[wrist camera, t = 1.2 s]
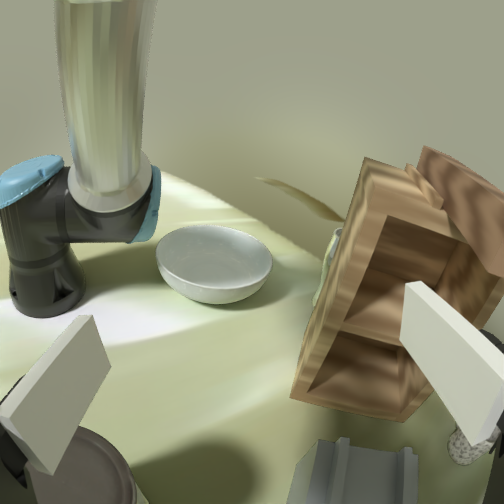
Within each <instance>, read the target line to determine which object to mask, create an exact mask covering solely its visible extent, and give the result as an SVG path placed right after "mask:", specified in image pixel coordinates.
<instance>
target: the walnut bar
mask: <svg viewBox="0 0 504 504" xmlns="http://www.w3.org/2000/svg"><path fill="white" fill-rule="evenodd" d="M417 171H418V172H419V173H420V174H421V175H422V176H423V177H424V178H425V179H426V180H427V181H428V182H429V183H430V185H431V186H432V187H433V188H434V189H435V190H436V191H437V192H438V194H439V195H440V196H441V197H442V198H443V199H444V201H443V204H442V208H443V209H444V210H445V212H446V213H447V214H448V216H449V217H450V218H451V220H452V221H453V222H454V224H455V225H456V226H457V228H458V229H459V230H460V232H461V233H462V235H463V236H464V237H465V239H466V240H467V242H468V243H469V245H470V246H471V248H472V249H473V250H474V252H475V253H476V255H477V256H478V258H479V260H480V261H481V263H482V264H483V266H484V267H485V269H486V270H487V272H489V273H491V274H494V275H497V276H499V277H502V278H504V193H503V192H502V191H500V190H499V189H498V188H496V187H495V186H494V185H492V184H491V183H489V182H488V181H487V180H485V179H484V178H483V177H481V176H480V175H478V174H477V173H475V172H474V171H472V170H471V169H469V168H468V167H466V166H465V165H463V164H462V163H460V162H459V161H457V160H455V159H454V158H452V157H451V156H449V155H446V154H444V153H442V152H439V151H437V150H434V149H432V148H430V147H427V146H423V150H422V153H421V156H420V159H419V162H418V165H417Z"/></svg>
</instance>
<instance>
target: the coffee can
mask: <svg viewBox="0 0 504 504" xmlns="http://www.w3.org/2000/svg"><path fill="white" fill-rule="evenodd" d="M25 466H26V467H27V468H28V470H29V472H30V476H31V480H32V484H33V488H34V491H35V495H36V498H37V502H38V504H149V502H148V501H147V499H146V498H145V496H144V495H143V494H142V492H141V490H140V489H139V487H138V485H137V484H136V482H135V480H134V477H133V475H132V472H131V470H130V468H129V466H128V464H127V462H126V460H125V459H124V457H123V456H122V455H121V454H120V452H119V451H118V450H117V449H116V448H115V447H114V446H113V445H112V444H111V443H110V442H109V441H107V440H106V439H105V438H103V437H102V436H100V435H99V434H97V433H95V432H93V431H91V430H89V429H87V428H84V427H81V426H78V427H77V429H76V431H75V433H74V435H73V437H72V439H71V441H70V443H69V444H68V446H67V448H66V450H65V452H64V454H63V456H62V458H61V460H60V462H59V464H58V466H57V468H56V470H55V472H54V474H53V476H52V475H49V474H46V473H43V472H40V471H37V470H36V469H35V468H34V466H33V465H32V464H31V463H30V462H29V460H28V461H27V463H26V464H25Z"/></svg>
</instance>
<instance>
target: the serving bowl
mask: <svg viewBox="0 0 504 504" xmlns="http://www.w3.org/2000/svg"><path fill="white" fill-rule="evenodd" d="M156 260H157V265H158V268H159V271H160V273H161V275H162V277H163V278H164V280H165V281H166V282H167V283H168V284H169V285H170V286H171V287H172V288H173V289H174V290H175V291H177V292H178V293H180V294H181V295H183V296H185V297H187V298H189V299H192V300H195V301H199V302H203V303H209V304H225V303H232V302H236V301H239V300H242V299H245V298H247V297H249V296H250V295H252V294H254V293H255V292H256V291H257V290H259V289H260V288H261V286H262V285H263V284H264V283H265V281H266V280H267V278H268V276H269V274H270V272H271V269H272V265H273V259H272V255H271V253H270V251H269V250H268V248H267V247H266V246H265V245H264V244H263V243H262V242H261V241H259V240H258V239H256V238H255V237H253V236H251V235H249V234H247V233H245V232H242V231H240V230H237V229H233V228H229V227H224V226H217V225H194V226H188V227H183V228H180V229H177V230H174V231H172V232H170V233H168V234H167V235H165V236H164V237H163V238H162V239H161V240H160V241H159V243H158V245H157V247H156Z"/></svg>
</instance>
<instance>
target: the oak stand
mask: <svg viewBox="0 0 504 504" xmlns="http://www.w3.org/2000/svg"><path fill="white" fill-rule="evenodd" d="M443 201H444V199H443V198H442V197H441V196H440V195H439V194H438V192H437V191H436V190H435V189H434V188H433V187H432V186H431V185H430V183H429V182H428V181H427V180H426V179H425V178H424V177H423V176H422V175H421V174H420V173H419V172H418V171H417V169H415V167H414V166H413V165H411V164H406V167H405V170H402V169H399V168H396V167H394V166H391V165H388V164H385V163H382V162H379V161H376V160H373V159H370V158H367V157H364V160H363V164H362V167H361V171H360V174H359V178H358V181H357V184H356V188H355V191H354V194H353V198H352V201H351V204H350V207H349V210H348V214H347V217H346V220H345V223H344V226H343V229H342V232H341V235H340V238H339V241H338V244H337V247H336V250H335V253H334V256H333V258H332V261H331V264H330V267H329V270H328V273H327V275H326V278H325V281H324V284H323V286H322V289H321V292H320V294H319V297H318V300H317V302H316V305H315V308H314V310H313V313H312V315H311V318H310V320H309V323H308V326H307V328H306V331H305V334H304V338H303V343H302V348H301V352H300V356H299V361H298V365H297V369H296V373H295V378H294V382H293V386H292V390H291V394H290V398H292V399H296V400H300V401H303V402H307V403H311V404H315V405H319V406H323V407H327V408H332V409H336V410H340V411H345V412H349V413H354V414H359V415H364V416H369V417H374V418H380V419H386V420H391V421H397V422H405V421H406V420H407V419H408V418H409V417H410V416H411V415H412V414H413V413H414V411H415V410H416V409H417V408H418V407H419V406H420V405H421V404H422V403H423V402H424V401H425V400H426V399H427V398H428V396H429V395H430V394H431V393H432V392H433V391H434V390H435V389H434V388H433V387H432V385H431V384H430V382H429V381H428V379H427V378H426V376H425V375H424V374H423V372H422V371H421V369H420V368H419V366H418V365H417V364H416V362H415V361H414V359H413V358H412V357H411V355H410V354H409V352H408V351H407V350H406V348H405V347H404V346H403V344H402V343H401V341H400V340H399V338H400V331H401V323H402V314H403V304H404V294H405V283H411V282H417V281H422V282H423V283H424V284H425V285H426V286H428V287H429V288H430V289H431V290H432V291H434V292H435V293H436V294H437V295H438V296H440V297H441V298H442V299H443V300H444V301H446V302H447V303H448V304H449V305H450V306H451V307H452V308H454V309H455V310H456V311H457V312H458V313H459V314H460V315H462V316H463V317H464V318H465V319H466V320H467V321H468V322H469V323H471V324H472V325H473V326H474V327H475V328H476V329H477V330H480V329H482V328H483V326H484V325H485V324H486V322H487V321H488V319H489V318H490V316H491V314H492V313H493V311H494V310H495V308H496V306H497V305H498V303H499V302H500V300H501V298H502V297H503V295H504V278H502V277H499V276H497V275H494V274H491V273H489V272H487V270H486V269H485V267H484V266H483V264H482V263H481V261H480V260H479V258H478V256H477V255H476V253H475V252H474V250H473V249H472V248H471V246H470V245H469V243H468V242H467V240H466V239H465V237H464V236H463V235H462V233H461V232H460V230H459V229H458V228H457V226H456V225H455V224H454V222H453V221H452V220H451V218H450V217H449V216H448V214H447V213H446V212H445V210H444V209H443V208H442V204H443Z"/></svg>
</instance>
